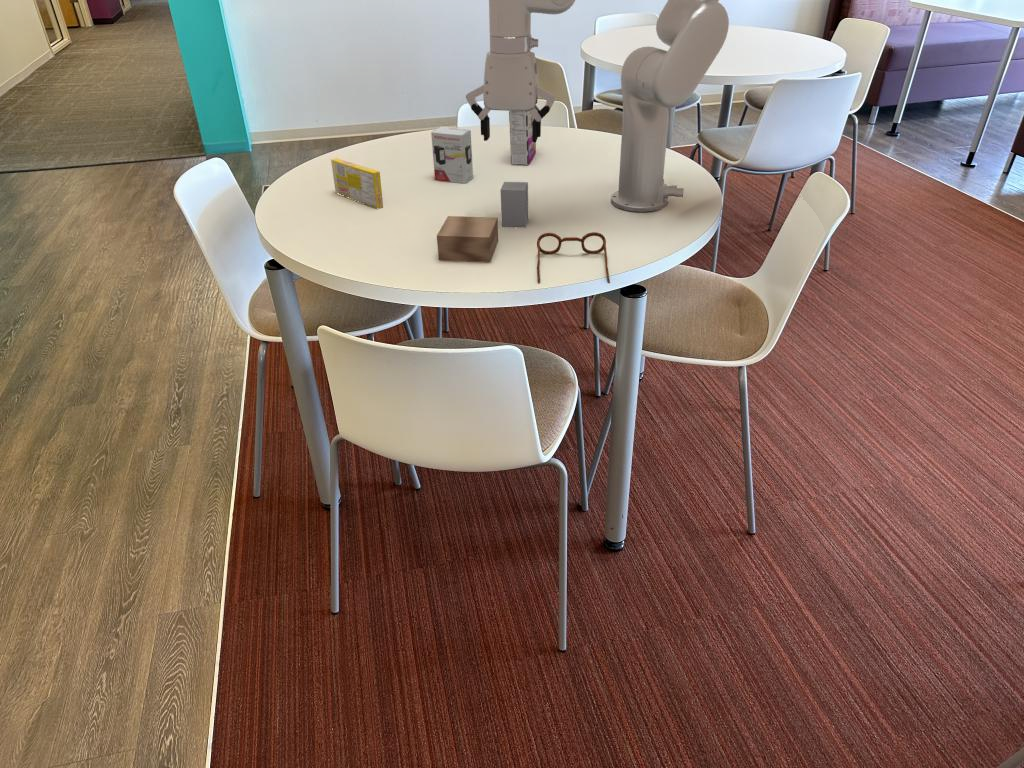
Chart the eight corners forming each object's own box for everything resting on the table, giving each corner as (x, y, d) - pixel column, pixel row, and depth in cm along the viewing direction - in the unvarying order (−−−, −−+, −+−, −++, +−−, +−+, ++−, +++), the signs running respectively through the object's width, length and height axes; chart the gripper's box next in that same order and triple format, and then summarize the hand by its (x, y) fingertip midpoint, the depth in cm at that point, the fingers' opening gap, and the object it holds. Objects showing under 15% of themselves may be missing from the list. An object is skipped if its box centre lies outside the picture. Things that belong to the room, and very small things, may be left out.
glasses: (604, 254, 138) (606, 230, 136) (610, 285, 128) (611, 259, 125) (536, 255, 139) (536, 231, 136) (536, 285, 128) (536, 260, 125)
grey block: (528, 218, 154) (527, 182, 149) (525, 227, 150) (524, 190, 145) (505, 218, 154) (504, 181, 150) (501, 227, 150) (500, 189, 146)
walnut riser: (498, 241, 144) (497, 217, 141) (490, 262, 136) (489, 237, 133) (449, 239, 145) (448, 216, 142) (438, 260, 137) (436, 235, 134)
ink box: (433, 180, 176) (429, 131, 169) (442, 174, 180) (438, 126, 173) (465, 184, 173) (462, 134, 166) (473, 177, 177) (471, 128, 170)
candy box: (385, 207, 162) (380, 170, 157) (377, 210, 161) (372, 173, 156) (342, 191, 171) (336, 157, 167) (335, 194, 170) (329, 159, 165)
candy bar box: (518, 152, 193) (516, 88, 184) (536, 153, 192) (535, 88, 183) (509, 165, 184) (507, 98, 175) (528, 166, 183) (527, 98, 174)
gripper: (558, 42, 134) (556, 136, 144) (468, 41, 137) (471, 133, 146) (554, 49, 128) (552, 146, 138) (460, 48, 130) (464, 143, 140)
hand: (510, 139), depth 142 cm, fingers open, 9 cm apart
